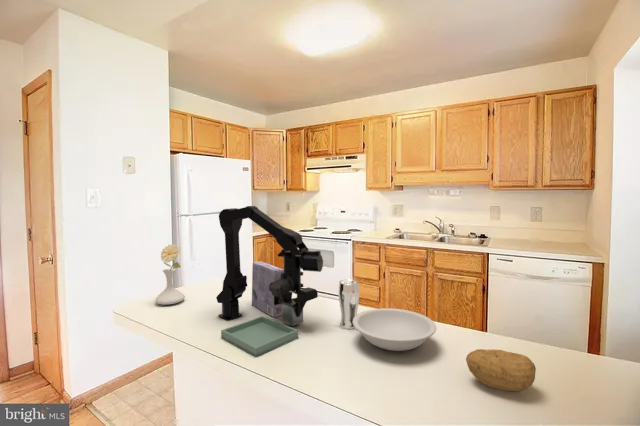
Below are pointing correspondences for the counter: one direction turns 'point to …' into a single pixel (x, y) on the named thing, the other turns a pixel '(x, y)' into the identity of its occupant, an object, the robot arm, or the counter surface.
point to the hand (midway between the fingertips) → (292, 314)
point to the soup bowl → (394, 328)
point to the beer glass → (348, 302)
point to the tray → (259, 335)
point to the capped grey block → (290, 313)
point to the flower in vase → (170, 277)
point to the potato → (501, 369)
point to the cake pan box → (266, 288)
